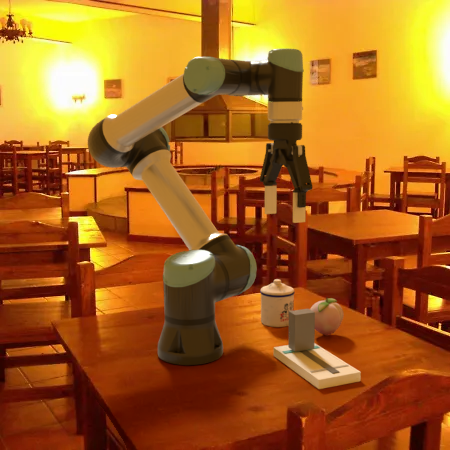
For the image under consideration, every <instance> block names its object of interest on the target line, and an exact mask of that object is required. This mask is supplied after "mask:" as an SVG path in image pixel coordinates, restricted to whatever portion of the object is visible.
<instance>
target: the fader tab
mask: <svg viewBox="0 0 450 450" xmlns="http://www.w3.org/2000/svg"><path fill="white" fill-rule="evenodd" d="M310 309H311V308H303V309H302V308H301V309H296V310H294V311H289V326H288V344H287V345H288V347H289V348H290V349H292V350H293V351H295V352H296V351H302V350H308V349H314V343H315V339H316V337H315V332H316V330H315V312H314V311H312V310H310Z"/></svg>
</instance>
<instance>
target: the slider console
mask: <svg viewBox="0 0 450 450" xmlns="http://www.w3.org/2000/svg"><path fill="white" fill-rule="evenodd" d="M273 357H274V358H276V359H277V360H279V361H280V362H281V363H283V364H284V365H286V366H287V367H288V368H289V369H291V370H292V371H293V372H295V373H296V374H297V375H298V376H300V377H301V378H303V379H305V380H306V381H307V382H308V383H310V385H312V386H313V387H315V388H317V389H318V390H323V389H326V388H332V387H337V386H342V385H347V384H353V383H359V382H361V379H362V377H361V373H362V372H361V371H360V370H358V369H357V368H355V367H354V366H352V365H350V364H349V363H347V362H345V361H344V360H342V359H341V358H339V357H337V356H336V355H334V354H332V353H331V352H330V351H328V350H327V349H324V348H323V347H322V346H320V345H318V344H317V343H315V342H314V349H308V350H302V351H296V352H295V351H293V350H292V349H290V348H289V347H288V344H287V345H280V346H274V347H273Z"/></svg>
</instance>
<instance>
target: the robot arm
mask: <svg viewBox="0 0 450 450" xmlns="http://www.w3.org/2000/svg"><path fill="white" fill-rule="evenodd" d="M303 60H304V59H303V52H302V51H301V50H300V49H297V48H275V49H270V50H269V51H268V53H267V59H265V60H264V59H263V60H238V59H231V58H230V59H227V58H219V57H218V58H217V57H213V56H209V55H208V56H196V57H194V58H192V59H190V60H189V61H188V63H187V64H186V66H185V68H184V70H183V73H182V74H181V75H179V76H177V77H176V78H174V79H172V80H171V81H170V82H168V83H166V84H164V85H163V86H162V87H160V88H158V89H157V90H155V91H153V92H152V93H150V94H149V95H148V96H146V97H144V98H142V99H141V100H139V101H137V103H135V104H133V105H131V106H129V107H128V108H127V109H124V111H122V112H120V113H119V114H118V115H117V114H110V115H107V116H106V117H105V118H103V119H101V120H100V121H99V122H97V123H96V124H95V125H94V126H93V127H92V128H91V129H90V132H89V134H88V138H87V149H88V151H89V154H90V156H91V157H92V158H93V159H94V161H96V162H97V163H98V164H99V165H102V166H103V167H106V168H126V169H127V170H128V171H129V174H131V176H132V177H133V179H134V180H136V181H142V182H143V183H144V184H145V186H146V188H147V190H148V191H149V192H150V193H151V195H152V197H153V198H154V199H155V201H156V202H157V204H158V205H159V207H160V209H161V210H162V211H163V213H164V214H165V215H166V218H167V219H168V221H169V222H170V224H171V225H172V227H173V228H174V229H175V231H176V232H177V234H178V235H179V237H180V239H182V242H184V244H185V246H186V247H187V249H188V250H182V251H179V252H176V253H172V255H170V256H168V257H167V258H166V259H165V261H164V265H163V274H162V280H163V305H164V306H163V307H164V308H163V309H164V312H163V313H164V323H163V325H162V328H161V329H162V330H161V333H160V336H159V339H158V342H157V355H158V358H159V359H160V360H162V361H163V362H166V363H169V364H173V365H179V366H197V365H204V364H208V363H212V362H214V361H216V360H218V359H220V358H221V357H222V356H223V353H224V345H223V340H222V337H221V333H220V331H219V329H218V325H217V322H216V303H218V302H221V301H223V300H226V299H229V298H232V297H236V296H239V295H241V294H242V293H243V292H246V291H247V290H248V289H250V288H251V287H252V285H253V284H254V282H255V279H256V277H257V270H258V269H257V268H258V267H257V262H256V259H255V257H254V254H253V253H252V252H251V250H250V249H249V248H247V247H245V246H242V245H239V244H235V243H234V241H233V240H232V238H231V237H230V236H229V235H228V234H227V233H221V232H220V231H218V229H217V228H216V227H215V225H214V224H213V222H212V220H211V219H210V217H209V216H208V215H207V213H206V212H205V211H204V209H203V207H202V206H201V204H200V203H199V201H198V200H197V199H196V198H195V196H194V195H193V193H192V191H191V190H190V189H189V187H188V186H187V185H186V183H185V181H184V180H183V178H182V177H181V176H180V174H179V173H178V171H177V170H176V168H175V167H174V166H173V164H172V163H171V158H172V153H171V145H170V138H169V135H168V133H167V131H166V130H165V128H164V126H165V125H167V124H169V123H171V122H172V121H175V120H176V119H178V118H179V117H181V116H182V115H184V114H186V113H189V112H190V111H192V109H195V108H197V107H199V106H200V105H202V104H203V103H205V102H207V101H208V100H211V99H212V98H214V97H216V96H219V95H221V96H222V95H223V96H225V95H226V96H227V95H228V96H232V97H233V96H234V97H244V96H246V97H247V96H263V95H264V96H267V120H268V121H269V123H268V124H267V139H268V140H269V141H273V142H271V143H270V142H268V143H266V145H265V155H264V159H263V164H262V166H261V171H260V177H259V182H260V183H262V184H263V185H264V214H265V215H270V214H271V215H273V214H274V215H275V214H277V200H278V199H277V197H278V195H277V193H278V192H277V190H278V189H277V187H278V186H277V185H278V183H277V179H278V176H279V174H280V172H281V170H282V167H283V166H284V168H286V169H287V171H288V174H289V177H290V180H291V183H292V185H293V187H294V189H293V190H292V223H293V224H296V223H299V224H300V223H306V210H307V209H306V208H307V207H306V206H307V192H308V191H311V190H313V183H312V178H311V175H310V169H309V166H308V160H307V156H306V146H305V145H304V144H301V145H299V144H297V143H298V141H301V140H302V139H303V124H302V122H300V121H302V120H303V110H304V107H303V81H304V79H303V78H304V73H305V72H304V62H303Z"/></svg>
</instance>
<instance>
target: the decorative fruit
mask: <svg viewBox="0 0 450 450" xmlns="http://www.w3.org/2000/svg"><path fill="white" fill-rule="evenodd" d="M337 302H338V300H337V299H335V298H332V297H330V298H328V296H326V299H324V300H319V301H317V302H315V303H314V304H312V306H311V307H310V308H309V309H310V310H312V311H314V312H315V332H316V331H317V332H318V333H319V334H322V335H324V336H326V337H328V336H330V335H331V334H334V333H335V332H336V331H337V330H338V329H339V327H340V326H341V325H342V323H343V320H344V316H345V315H344V310H343V308H342V306H341V304H339V303H337Z"/></svg>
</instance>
